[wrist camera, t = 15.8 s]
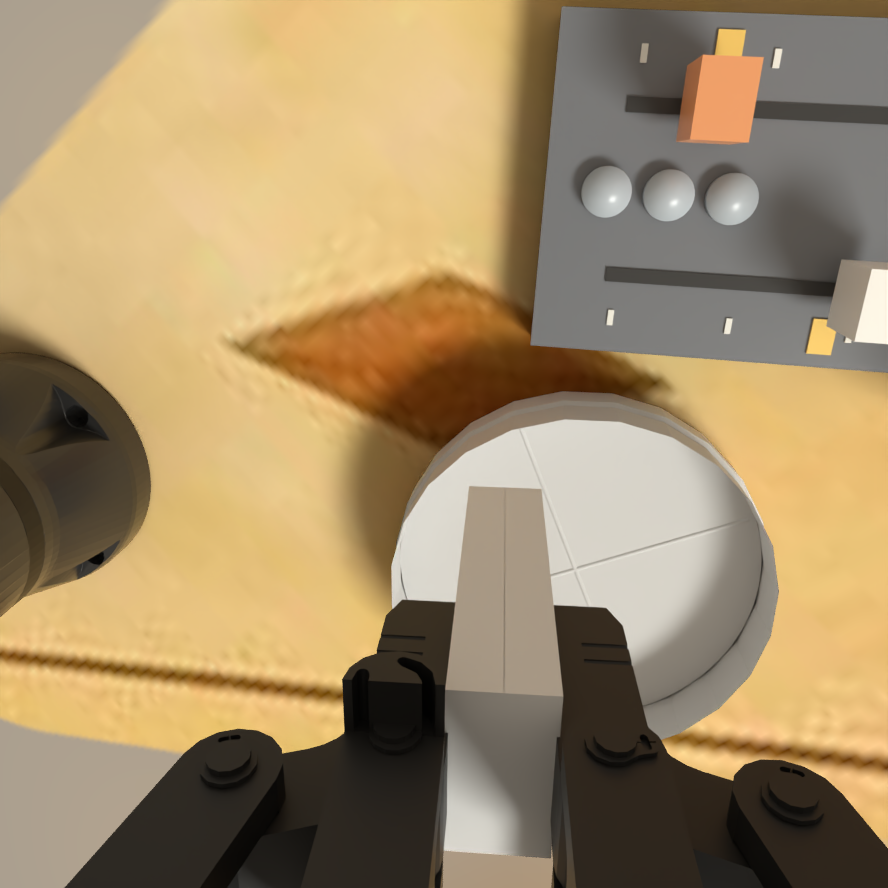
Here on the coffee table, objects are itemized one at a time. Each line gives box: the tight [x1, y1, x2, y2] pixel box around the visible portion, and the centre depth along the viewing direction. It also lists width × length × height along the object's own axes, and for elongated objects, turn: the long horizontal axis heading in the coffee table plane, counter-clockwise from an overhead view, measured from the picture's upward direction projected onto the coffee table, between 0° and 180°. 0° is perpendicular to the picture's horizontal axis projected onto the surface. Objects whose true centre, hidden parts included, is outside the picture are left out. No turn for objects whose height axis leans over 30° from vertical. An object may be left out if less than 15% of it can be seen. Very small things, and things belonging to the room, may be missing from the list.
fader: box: [676, 55, 764, 145], centre depth 34 cm, size 2×3×5 cm
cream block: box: [826, 259, 888, 344], centre depth 36 cm, size 2×3×5 cm
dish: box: [391, 391, 779, 740], centre depth 46 cm, size 22×22×5 cm
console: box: [531, 6, 888, 373], centre depth 38 cm, size 20×16×3 cm
